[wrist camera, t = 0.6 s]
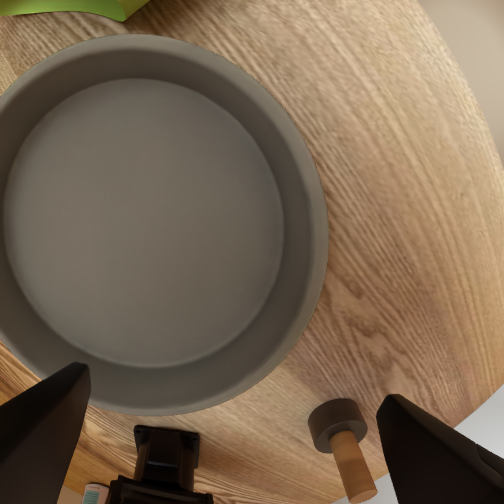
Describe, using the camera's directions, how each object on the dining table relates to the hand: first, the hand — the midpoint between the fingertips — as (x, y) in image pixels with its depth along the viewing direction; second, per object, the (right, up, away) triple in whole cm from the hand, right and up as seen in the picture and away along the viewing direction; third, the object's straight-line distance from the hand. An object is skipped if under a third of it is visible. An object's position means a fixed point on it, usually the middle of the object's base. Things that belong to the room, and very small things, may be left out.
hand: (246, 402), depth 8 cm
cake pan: (-8, +5, +12) cm, 16 cm away
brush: (+8, -12, +20) cm, 24 cm away
